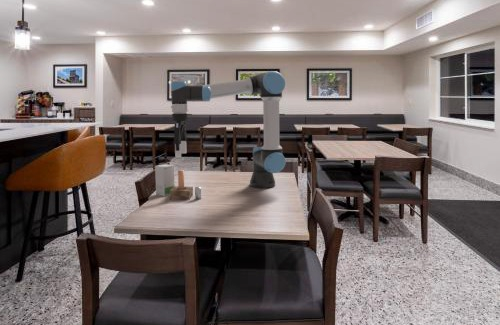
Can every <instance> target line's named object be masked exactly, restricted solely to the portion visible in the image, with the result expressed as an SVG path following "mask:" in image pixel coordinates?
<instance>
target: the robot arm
mask: <svg viewBox="0 0 500 325" xmlns="http://www.w3.org/2000/svg"><path fill="white" fill-rule="evenodd" d="M170 87H171V90H170V95H171V96H170V97H171V106H170V109H171V119H172V121H173V122H175V123H174V130H173V131H174V133H173V134H174V135H173V142H172V144H173V145H174V154H175V158H182V154H187V141H188V140H189V139H188V136H187V128H186V122H187V121H188V101H189V102H190V101H191V102H206V101H207V102H208V101H210V100H211V99H216V98H217V99H219V98H222V97H224V98H225V97H229V96H237V95H243V94H248V95H260V96H259V97H260V100H262V102H263V103H262V104H263V106H262V108H263V109H262V110H263V111H262V112H263V113H262V114H263V145H262V146H256V147H253V148H252V174H251V177H250V180H249V186H250V187H253V188H256V187H257V189H268V187H270V188H273V186H274V187H275V186H276V179H275V177H274V174H277V173H280V172H281V171H282V170H284V168H285V166H286V161H287V160H286V158H285V156H284V154H283V147H282V146H281V145H280V100H281V99H282V98H283V91H284V89H285V87H286V80H285V78H284V75H282V74H281V73H280V72H278V71H274V70H273V71H272V70H271V71H267V72H263V73H262V72H261V73H260V74H256V75H253V76H248V77H246V78H245V79H239V80H233V81H225V82H219V83H218V82H217V83H210V84H204V85H187V82H186V80H185V81H184V80H183V81H182V80H177V81H176V80H174V81H172V82H171V83H170Z"/></svg>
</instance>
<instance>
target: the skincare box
mask: <svg viewBox="0 0 500 325" xmlns="http://www.w3.org/2000/svg"><path fill="white" fill-rule="evenodd" d="M154 170H155V172H154V173H155V174H154V175H155V195H156V196H162V197H166V196H170V190H171V189H172V188H173V187H174V186H176V185H175V164H167V163H165V164H159V165H155V166H154Z"/></svg>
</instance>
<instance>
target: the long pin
mask: <svg viewBox="0 0 500 325" xmlns="http://www.w3.org/2000/svg"><path fill="white" fill-rule="evenodd" d="M177 177H178V178H177V182H178V183H177V185H178V190H184V187H185V170H184V169H178V170H177Z"/></svg>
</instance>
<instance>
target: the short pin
mask: <svg viewBox="0 0 500 325" xmlns="http://www.w3.org/2000/svg"><path fill="white" fill-rule="evenodd" d="M194 199H195V200H197V201H198V200H202V187H201V186H195V187H194Z"/></svg>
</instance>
